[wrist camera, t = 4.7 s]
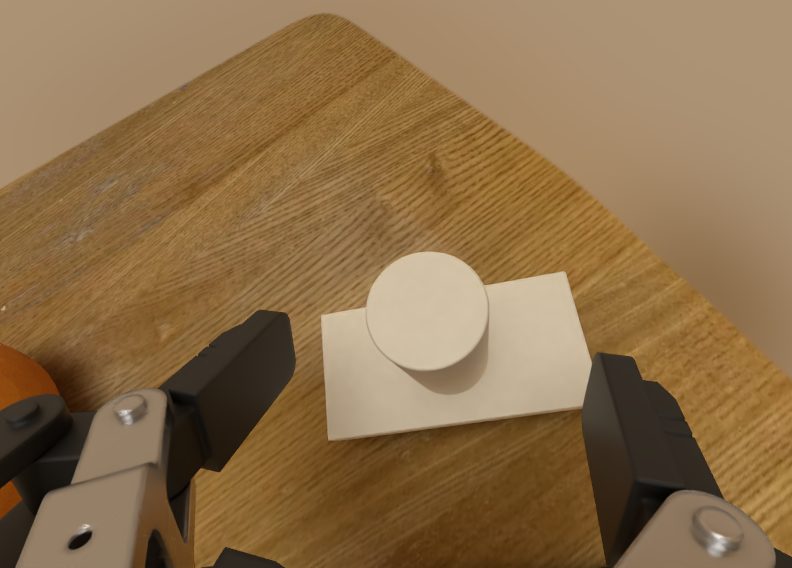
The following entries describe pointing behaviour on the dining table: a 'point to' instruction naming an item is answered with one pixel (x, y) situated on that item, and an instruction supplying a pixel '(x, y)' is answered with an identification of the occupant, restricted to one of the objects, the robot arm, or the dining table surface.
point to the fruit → (11, 382)
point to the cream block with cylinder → (451, 350)
